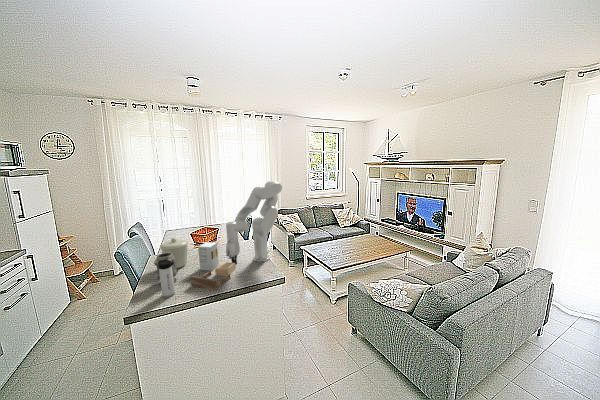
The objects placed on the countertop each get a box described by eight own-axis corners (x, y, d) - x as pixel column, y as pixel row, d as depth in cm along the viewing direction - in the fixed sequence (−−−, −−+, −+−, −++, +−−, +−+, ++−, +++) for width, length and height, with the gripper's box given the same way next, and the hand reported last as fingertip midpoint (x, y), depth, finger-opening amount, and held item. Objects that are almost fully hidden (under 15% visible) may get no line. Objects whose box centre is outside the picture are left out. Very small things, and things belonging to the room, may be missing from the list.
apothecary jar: (178, 275, 158) (175, 249, 155) (178, 283, 147) (175, 256, 144) (157, 280, 152) (153, 253, 149) (155, 289, 142) (152, 260, 139)
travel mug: (165, 292, 138) (160, 259, 134) (176, 291, 138) (172, 258, 135) (159, 298, 132) (155, 264, 128) (172, 297, 132) (167, 263, 129)
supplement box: (211, 270, 163) (209, 247, 161) (199, 270, 165) (197, 246, 163) (219, 264, 173) (217, 242, 170) (207, 264, 175) (205, 242, 172)
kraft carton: (223, 269, 166) (222, 262, 166) (235, 269, 165) (235, 262, 164) (215, 275, 157) (215, 268, 156) (228, 276, 155) (228, 269, 154)
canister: (165, 274, 160) (162, 244, 157) (159, 265, 174) (156, 237, 170) (194, 265, 172) (191, 237, 169) (186, 258, 185) (183, 232, 182)
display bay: (208, 274, 158) (208, 265, 157) (231, 278, 152) (231, 269, 151) (191, 286, 144) (190, 276, 143) (215, 290, 138) (214, 281, 137)
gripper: (234, 235, 175) (236, 259, 178) (221, 242, 161) (223, 268, 164) (243, 236, 172) (244, 260, 175) (230, 243, 158) (232, 269, 161)
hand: (234, 264), depth 170 cm, fingers closed
